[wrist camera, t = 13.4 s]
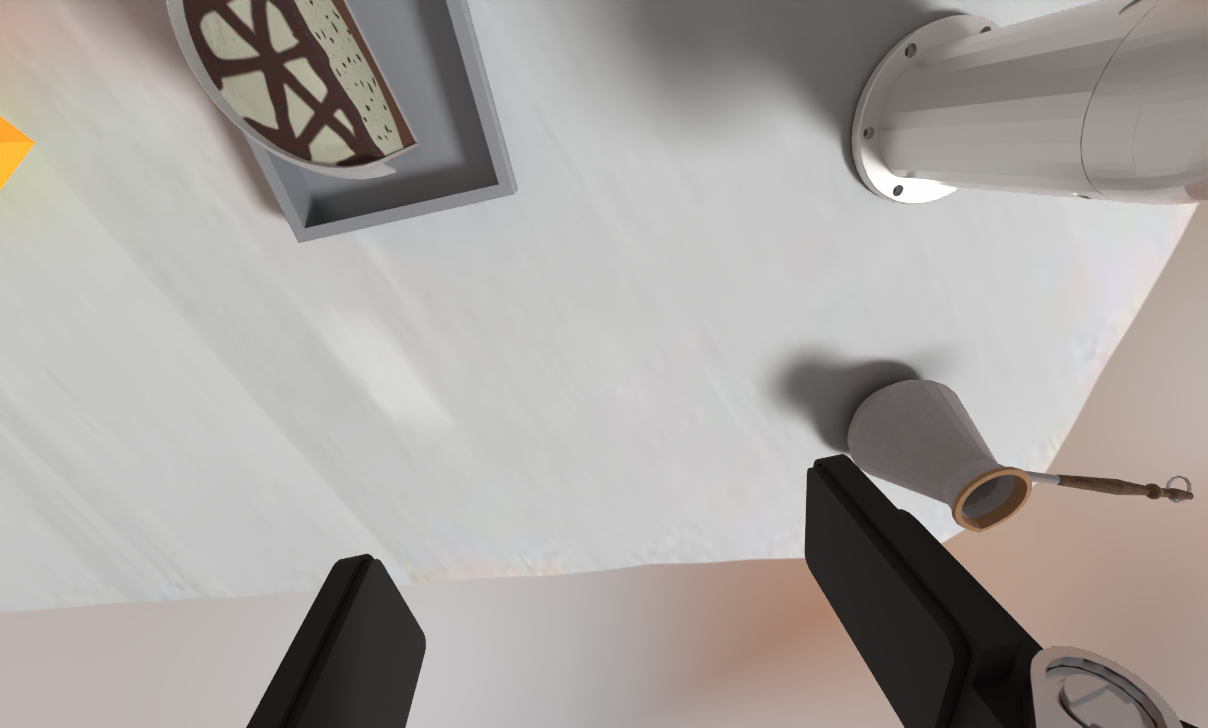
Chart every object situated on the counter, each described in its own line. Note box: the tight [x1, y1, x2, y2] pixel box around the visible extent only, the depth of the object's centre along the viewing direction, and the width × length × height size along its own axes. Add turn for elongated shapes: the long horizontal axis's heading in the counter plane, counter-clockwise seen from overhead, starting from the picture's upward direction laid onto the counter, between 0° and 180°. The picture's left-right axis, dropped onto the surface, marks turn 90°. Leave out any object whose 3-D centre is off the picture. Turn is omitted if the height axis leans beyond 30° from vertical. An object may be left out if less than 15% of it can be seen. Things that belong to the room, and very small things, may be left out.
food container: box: [166, 0, 420, 179], centre depth 25 cm, size 12×6×10 cm, turn 20°
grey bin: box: [242, 0, 518, 243], centre depth 28 cm, size 15×17×4 cm
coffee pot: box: [847, 380, 1193, 532], centre depth 41 cm, size 21×12×15 cm, turn 93°
